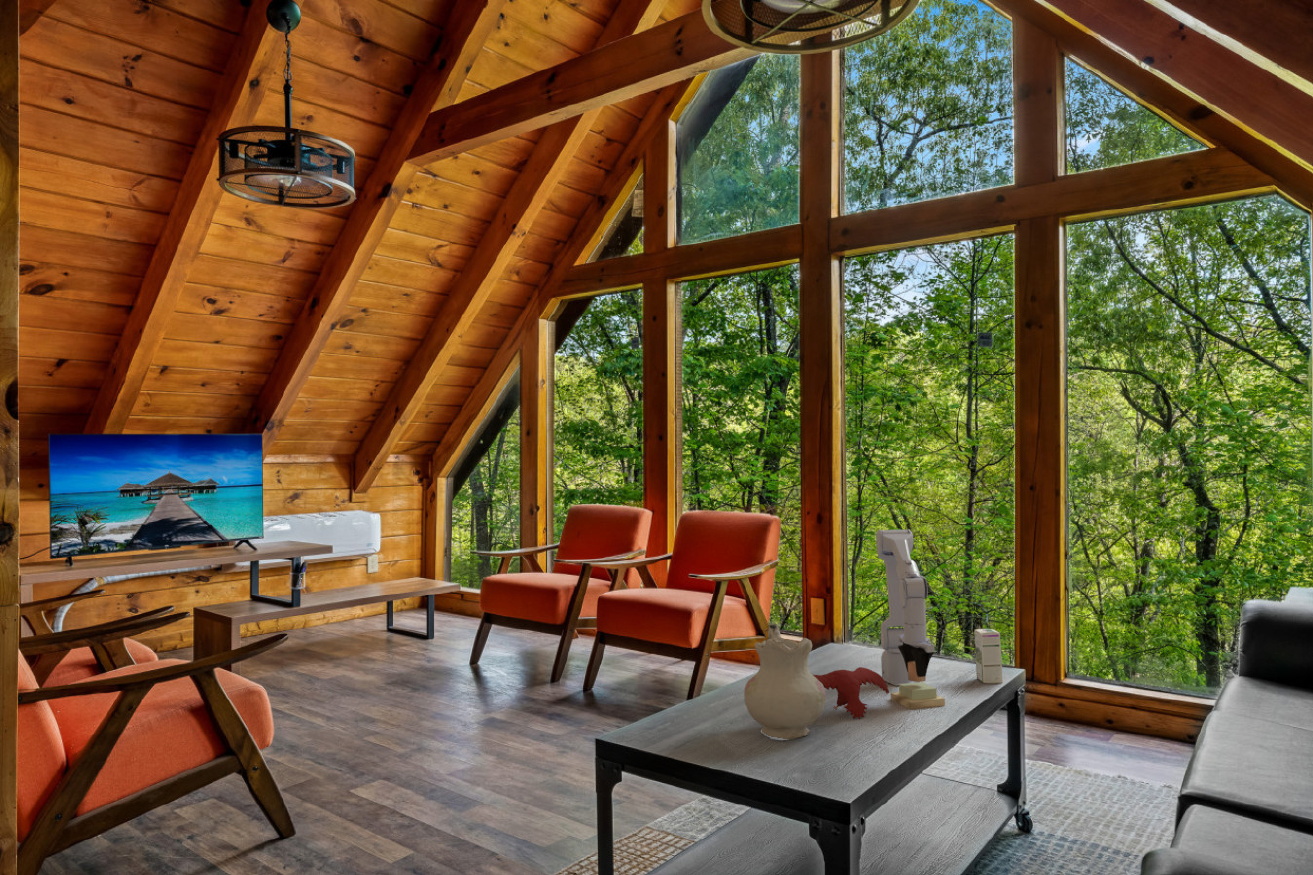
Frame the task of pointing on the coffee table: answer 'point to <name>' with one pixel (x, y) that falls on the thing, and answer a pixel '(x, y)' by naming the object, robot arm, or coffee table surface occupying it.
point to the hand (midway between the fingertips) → (916, 674)
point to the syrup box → (988, 656)
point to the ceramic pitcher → (784, 687)
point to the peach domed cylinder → (914, 673)
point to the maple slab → (917, 701)
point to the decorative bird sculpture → (851, 687)
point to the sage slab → (917, 691)
